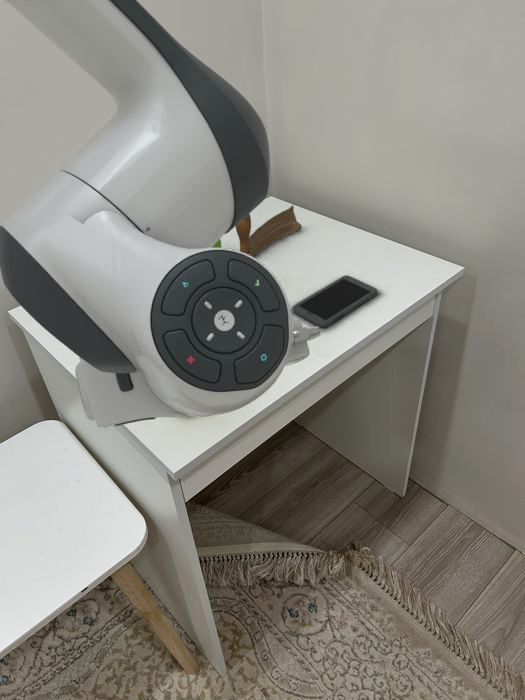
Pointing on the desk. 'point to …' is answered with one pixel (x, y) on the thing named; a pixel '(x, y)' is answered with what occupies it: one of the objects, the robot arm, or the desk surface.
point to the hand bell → (244, 234)
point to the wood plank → (273, 230)
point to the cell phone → (334, 301)
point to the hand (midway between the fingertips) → (191, 374)
